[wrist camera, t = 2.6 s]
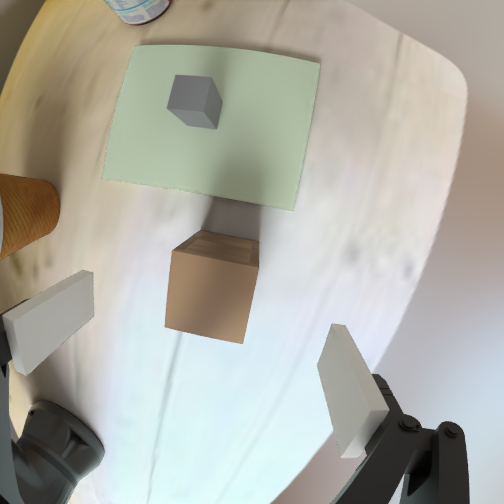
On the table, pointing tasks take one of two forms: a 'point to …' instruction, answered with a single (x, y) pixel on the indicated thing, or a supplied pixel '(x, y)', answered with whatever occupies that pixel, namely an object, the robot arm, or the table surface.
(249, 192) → the post board
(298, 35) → the table surface
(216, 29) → the table surface
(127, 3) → the teal and black cylinder
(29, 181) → the disposable coffee cup
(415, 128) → the table surface
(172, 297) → the box
